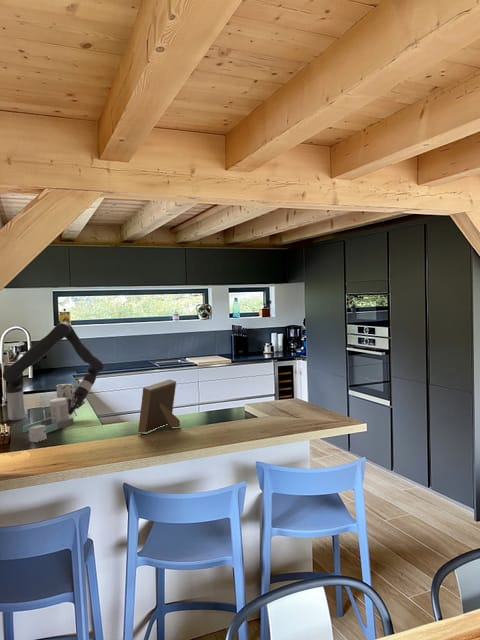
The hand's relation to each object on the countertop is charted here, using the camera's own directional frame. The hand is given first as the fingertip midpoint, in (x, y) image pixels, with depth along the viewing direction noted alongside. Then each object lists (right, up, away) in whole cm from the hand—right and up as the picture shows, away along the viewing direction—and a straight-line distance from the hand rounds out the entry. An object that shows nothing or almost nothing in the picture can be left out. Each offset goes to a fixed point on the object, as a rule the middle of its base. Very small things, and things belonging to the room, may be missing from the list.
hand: (69, 413), depth 283 cm
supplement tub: (-3, -5, -6) cm, 8 cm away
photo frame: (+61, -2, -32) cm, 69 cm away
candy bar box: (-14, -4, +35) cm, 38 cm away
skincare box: (-3, -7, -35) cm, 36 cm away
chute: (-7, -6, -12) cm, 15 cm away
